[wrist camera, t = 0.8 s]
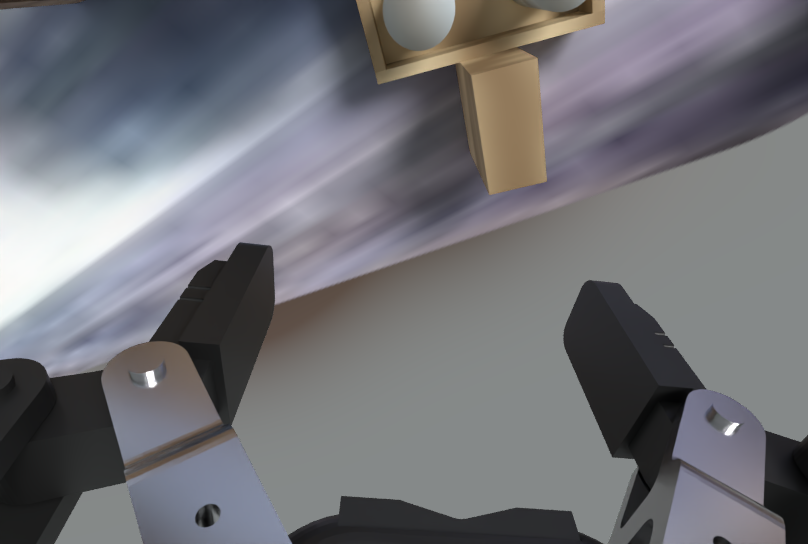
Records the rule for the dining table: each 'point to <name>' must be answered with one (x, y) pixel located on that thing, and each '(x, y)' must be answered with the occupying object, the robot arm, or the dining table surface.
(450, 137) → the dining table surface
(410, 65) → the tray
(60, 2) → the brown cardboard box
